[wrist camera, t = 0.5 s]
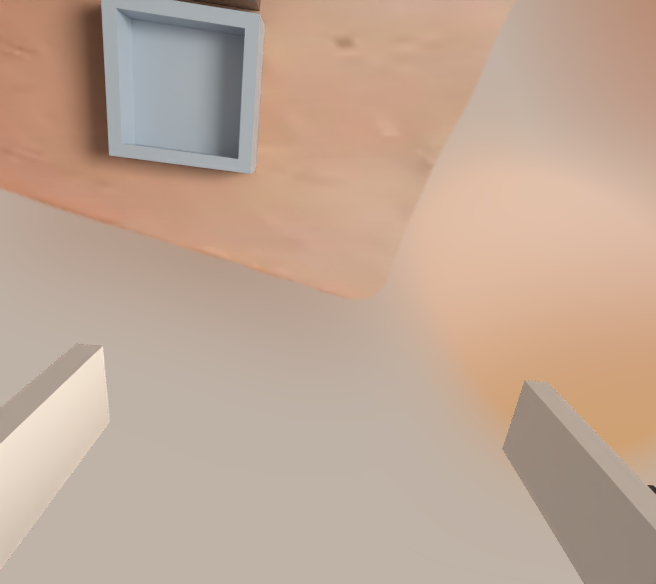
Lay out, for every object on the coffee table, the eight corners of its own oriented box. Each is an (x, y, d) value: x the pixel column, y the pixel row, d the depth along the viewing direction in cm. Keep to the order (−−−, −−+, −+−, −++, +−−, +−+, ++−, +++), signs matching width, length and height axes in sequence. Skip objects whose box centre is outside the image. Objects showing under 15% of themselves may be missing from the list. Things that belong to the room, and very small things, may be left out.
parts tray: (120, 3, 31) (100, -12, 28) (265, 26, 31) (259, 14, 28) (126, 154, 34) (109, 155, 31) (255, 171, 35) (250, 173, 32)
